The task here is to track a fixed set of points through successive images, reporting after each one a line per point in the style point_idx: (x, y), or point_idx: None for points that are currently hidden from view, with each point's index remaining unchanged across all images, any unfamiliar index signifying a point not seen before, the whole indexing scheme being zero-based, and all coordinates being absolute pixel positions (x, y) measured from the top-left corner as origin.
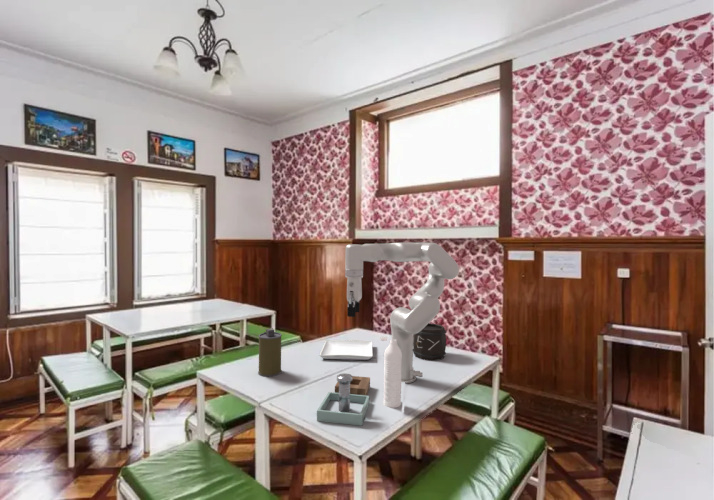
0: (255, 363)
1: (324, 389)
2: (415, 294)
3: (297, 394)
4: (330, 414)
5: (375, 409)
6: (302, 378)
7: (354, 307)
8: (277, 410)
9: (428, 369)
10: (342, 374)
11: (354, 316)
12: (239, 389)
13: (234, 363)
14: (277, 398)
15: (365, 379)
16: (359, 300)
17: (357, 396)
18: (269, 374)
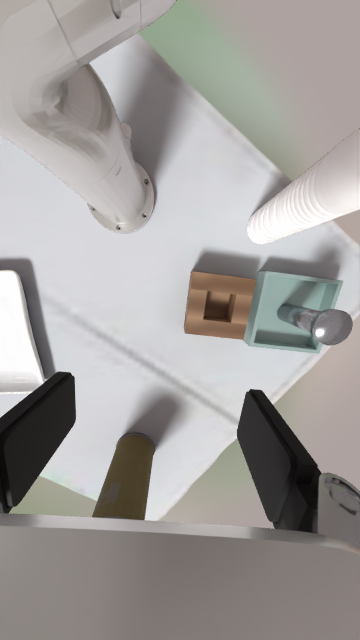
0: (99, 477)
1: (197, 353)
2: None
3: (220, 389)
4: None
5: (274, 259)
6: (154, 395)
7: (309, 466)
8: (273, 402)
9: None
10: (321, 334)
11: (259, 392)
12: (207, 464)
13: None
14: (235, 412)
15: (205, 281)
16: (256, 539)
17: (264, 293)
18: (152, 446)
